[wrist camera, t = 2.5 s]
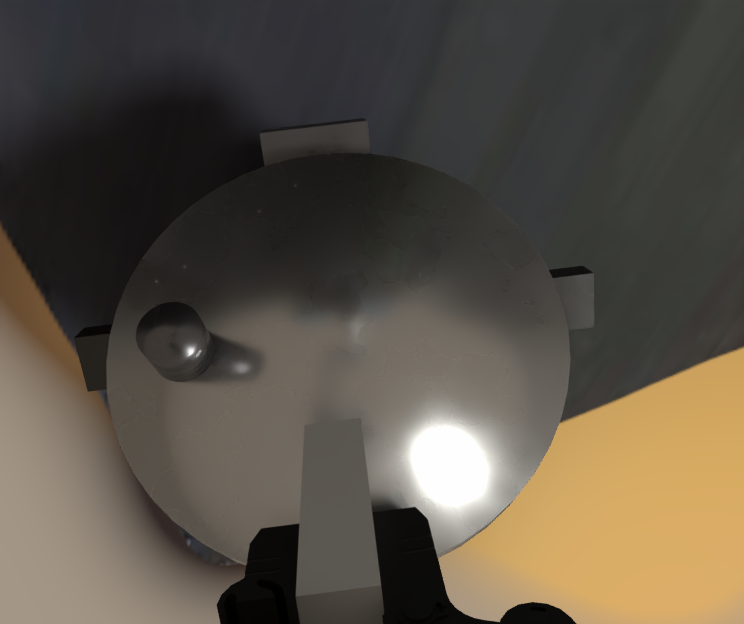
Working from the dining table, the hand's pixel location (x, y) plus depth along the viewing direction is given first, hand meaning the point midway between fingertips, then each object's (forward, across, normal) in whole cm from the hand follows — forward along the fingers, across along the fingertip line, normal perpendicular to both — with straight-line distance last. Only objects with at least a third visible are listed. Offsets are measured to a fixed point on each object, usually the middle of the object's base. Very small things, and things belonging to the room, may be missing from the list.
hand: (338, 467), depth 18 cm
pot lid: (+9, 0, -1) cm, 9 cm away
